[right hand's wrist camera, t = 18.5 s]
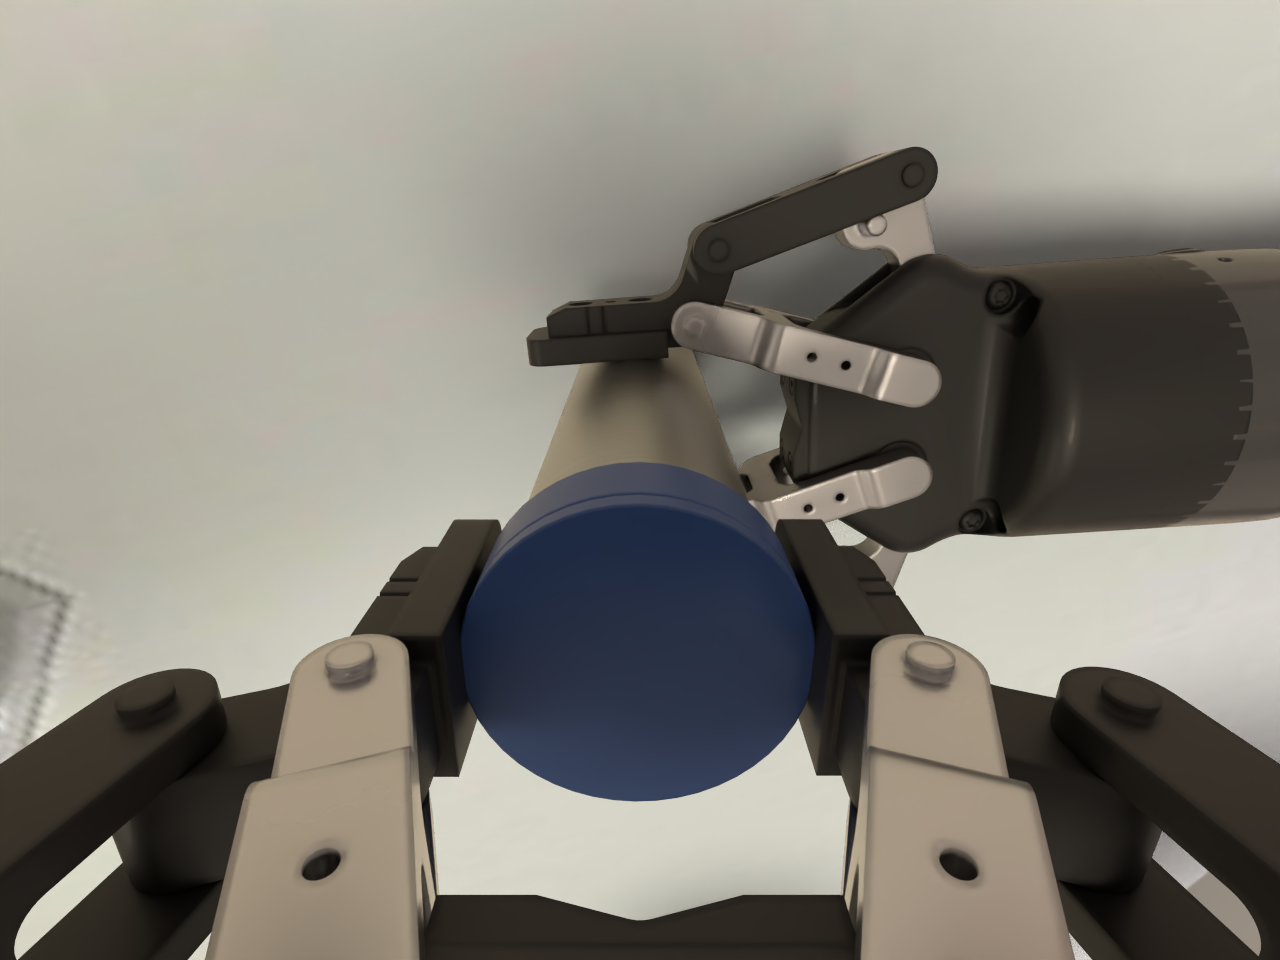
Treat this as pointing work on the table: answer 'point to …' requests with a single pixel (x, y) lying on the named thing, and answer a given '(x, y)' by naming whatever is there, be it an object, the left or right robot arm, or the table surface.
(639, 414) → the jar
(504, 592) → the lid
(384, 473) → the table surface
